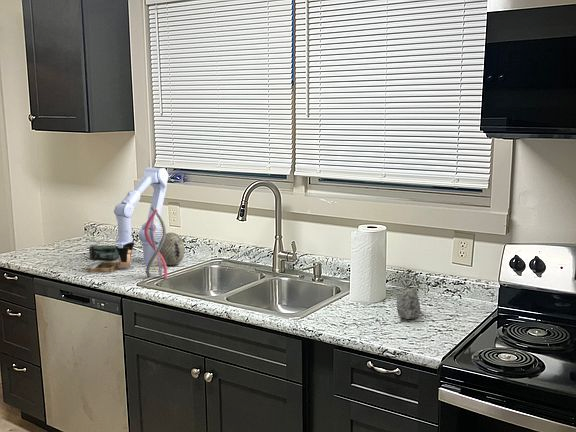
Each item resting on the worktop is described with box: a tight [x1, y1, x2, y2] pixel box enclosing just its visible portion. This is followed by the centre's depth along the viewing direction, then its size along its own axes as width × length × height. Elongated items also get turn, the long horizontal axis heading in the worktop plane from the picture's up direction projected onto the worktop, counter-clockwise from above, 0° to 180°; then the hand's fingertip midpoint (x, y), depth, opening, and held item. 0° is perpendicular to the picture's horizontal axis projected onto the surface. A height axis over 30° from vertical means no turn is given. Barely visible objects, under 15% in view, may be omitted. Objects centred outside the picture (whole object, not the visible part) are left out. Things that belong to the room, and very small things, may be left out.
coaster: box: [118, 265, 135, 272], centre depth 281 cm, size 7×7×1 cm
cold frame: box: [85, 260, 120, 274], centre depth 281 cm, size 11×13×2 cm
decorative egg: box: [159, 232, 186, 266], centre depth 288 cm, size 12×12×15 cm
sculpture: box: [88, 244, 119, 261], centre depth 299 cm, size 12×8×15 cm
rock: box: [396, 287, 421, 320], centre depth 217 cm, size 15×8×10 cm, turn 142°
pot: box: [118, 250, 132, 267], centre depth 280 cm, size 5×5×7 cm
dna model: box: [144, 207, 168, 279], centre depth 264 cm, size 9×9×30 cm
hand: (126, 260), depth 281 cm, fingers closed on pot, 5 cm apart
